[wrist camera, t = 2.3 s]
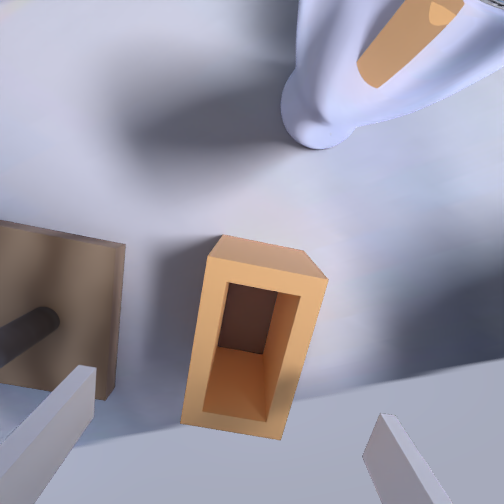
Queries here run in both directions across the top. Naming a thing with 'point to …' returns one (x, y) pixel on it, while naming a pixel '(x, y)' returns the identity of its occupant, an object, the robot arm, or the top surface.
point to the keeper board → (58, 306)
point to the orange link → (247, 363)
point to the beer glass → (384, 61)
